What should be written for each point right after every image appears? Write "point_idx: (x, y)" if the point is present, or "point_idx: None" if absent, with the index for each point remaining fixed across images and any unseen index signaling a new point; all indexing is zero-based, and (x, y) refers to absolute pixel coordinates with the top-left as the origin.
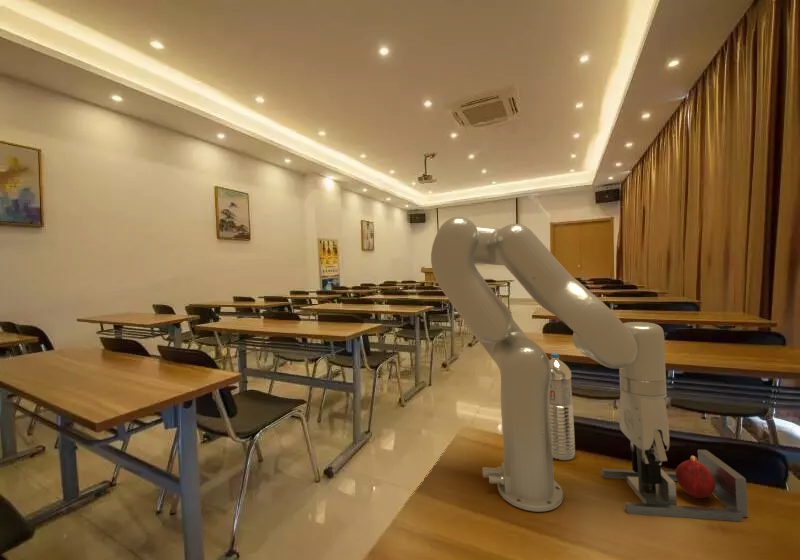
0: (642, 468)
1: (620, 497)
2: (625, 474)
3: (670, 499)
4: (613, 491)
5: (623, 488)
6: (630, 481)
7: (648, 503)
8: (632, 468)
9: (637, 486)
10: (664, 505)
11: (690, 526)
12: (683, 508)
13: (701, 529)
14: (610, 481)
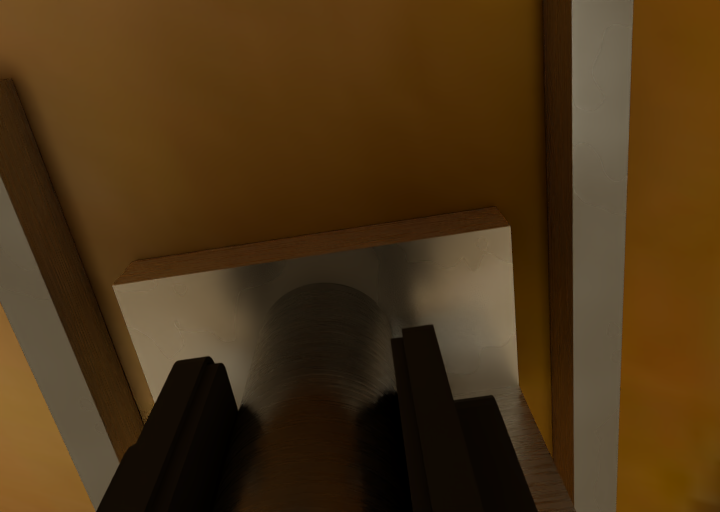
0: (115, 486)
1: (212, 82)
2: (565, 224)
3: None
4: (299, 37)
5: (380, 148)
6: (426, 237)
7: (48, 293)
8: (432, 332)
9: (344, 276)
10: (82, 398)
11: (29, 453)
12: (96, 498)
13: (28, 495)
14: (484, 50)
